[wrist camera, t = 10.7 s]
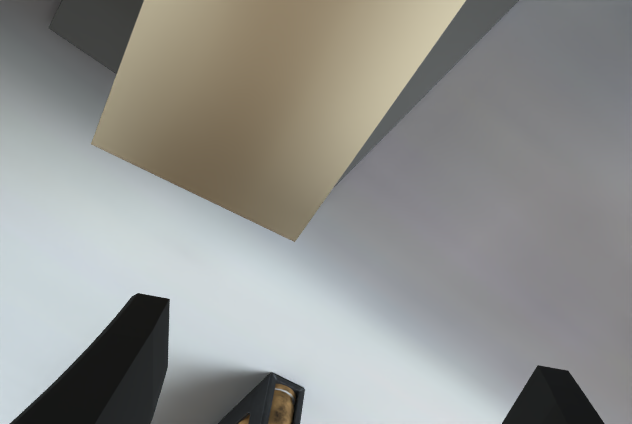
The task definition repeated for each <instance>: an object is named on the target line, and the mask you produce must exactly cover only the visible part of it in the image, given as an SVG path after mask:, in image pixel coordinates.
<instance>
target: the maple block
mask: <svg viewBox="0 0 632 424" xmlns="http://www.w3.org/2000/svg"><path fill="white" fill-rule="evenodd" d="M465 1H466V0H144V2H143V4H142V7H141V10H140V12H139V15H138V18H137V21H136V23H135V26H134V29H133V31H132V34H131V37H130V40H129V42H128V45H127V48H126V50H125V53H124V56H123V59H122V61H121V64H120V67H119V69H118V72H117V75H116V78H115V80H114V83H113V86H112V88H111V91H110V94H109V97H108V99H107V102H106V105H105V107H104V110H103V113H102V116H101V118H100V121H99V124H98V126H97V129H96V132H95V135H94V137H93V140H92V143H91V144H92V145H94V146H96V147H98V148H100V149H102V150H104V151H106V152H108V153H110V154H113V155H115V156H117V157H119V158H121V159H123V160H125V161H127V162H129V163H131V164H133V165H135V166H138V167H140V168H142V169H144V170H146V171H148V172H150V173H152V174H154V175H156V176H158V177H160V178H163V179H165V180H167V181H169V182H171V183H173V184H175V185H177V186H179V187H181V188H183V189H185V190H188V191H190V192H192V193H194V194H196V195H198V196H200V197H202V198H204V199H206V200H208V201H210V202H213V203H215V204H217V205H219V206H221V207H223V208H225V209H227V210H229V211H231V212H233V213H236V214H238V215H240V216H242V217H244V218H246V219H248V220H250V221H252V222H254V223H256V224H258V225H261V226H263V227H265V228H267V229H269V230H271V231H273V232H275V233H277V234H279V235H281V236H283V237H286V238H288V239H290V240H292V241H294V242H295V241H296V240H297V238H298V237H299V235H300V234H301V233H302V231H303V230H304V228H305V227H306V226H307V224H308V223H309V221H310V220H311V218H312V217H313V216H314V214H315V213H316V211H317V210H318V209H319V207H320V206H321V204H322V203H323V202H324V200H325V199H326V197H327V196H328V195H329V193H330V192H331V190H332V189H333V187H334V186H335V185H336V183H337V182H338V180H339V179H340V178H341V176H342V175H343V173H344V172H345V171H346V169H347V168H348V166H349V165H350V163H351V162H352V161H353V159H354V158H355V156H356V155H357V154H358V152H359V151H360V149H361V148H362V147H363V145H364V144H365V142H366V141H367V139H368V138H369V137H370V135H371V134H372V132H373V131H374V130H375V128H376V127H377V125H378V124H379V123H380V121H381V120H382V118H383V117H384V115H385V114H386V113H387V111H388V110H389V108H390V107H391V106H392V104H393V103H394V101H395V100H396V99H397V97H398V96H399V94H400V93H401V91H402V90H403V89H404V87H405V86H406V84H407V83H408V82H409V80H410V79H411V77H412V76H413V75H414V73H415V72H416V70H417V69H418V67H419V66H420V65H421V63H422V62H423V60H424V59H425V58H426V56H427V55H428V53H429V52H430V51H431V49H432V48H433V46H434V45H435V44H436V42H437V41H438V39H439V38H440V36H441V35H442V34H443V32H444V31H445V29H446V28H447V27H448V25H449V24H450V22H451V21H452V20H453V18H454V17H455V15H456V14H457V12H458V11H459V10H460V8H461V7H462V5H463V4H464V3H465Z"/></svg>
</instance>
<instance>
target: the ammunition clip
mask: <svg viewBox="0 0 632 424" xmlns="http://www.w3.org/2000/svg"><path fill="white" fill-rule="evenodd" d="M304 392H305V389H304V388H302V387H300V386H298V385H296V384H293V383H291V382H289V381H287V380H285V379H283V378H281V377H279V376H277V375H275V374H273V373H270V374H269V375H268V376H267V377H266V378H265V379H264V380H263V381H261V382H260V383H259V384H258V385H257V386H256V387H255V388H254V389H253V390H252V391H251V392H250V393H249V394H248V395H247V396H246V397H245V398H244V399H243V400H242V401H241V402H240V403H239V404H238V405H237V406H236V407H234V408H233V409H232V410H231V411H230V412H229V413H228V414H227V415H226V416H225V417H224V418H223V419H222V420H221V421H220V422H219V423H218V424H300V420H301V413H302V406H303V399H304Z"/></svg>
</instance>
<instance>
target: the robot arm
mask: <svg viewBox="0 0 632 424" xmlns="http://www.w3.org/2000/svg"><path fill="white" fill-rule="evenodd" d="M169 302H170V299H167V298H161V297H156V296H150V295H145V294H139V293H137V294H136V295H134V296H132V297H131V298H130V300H129V301H128V302H127V303H126V305H125V306H124V307H123V308H122V310H121V311H120V312H119V313H118V314H117V316H116V317H115V318H114V319H113V320H112V321H111V323H110V324H109V325H108V326H107V327H106V328H105V329H104V331H103V332H102V333H101V334H100V335H99V336H98V337H97V338H96V339H95V340H94V342H93V343H92V344H91V345H90V346H89V347H88V348H87V349H86V350H85V351H84V352H83V353H82V354H81V355H80V356H79V357H78V358H77V360H76V361H75V362H74V363H73V364H72V365H71V366H70V367H69V368H68V369H67V370H66V371H65V372H64V373H63V374H62V375H61V376H60V377H59V378H58V379H57V380H56V381H55V382H54V383H53V384H52V385H51V386H50V387H49V388H48V389H47V390H46V391H45V392H43V393H42V394H41V395H40V396H39V397H38V398H37V399H36V400H35V401H34V402H33V403H32V404H31V405H30V406H28V407H27V408H26V409H25V410H24V411H23V412H22V413H21V414H20V415H19V416H18V417H17V418H16V419H14V420H13V421H12V422H11V423H10V424H150V423H151V420H152V418H153V415H154V412H155V408H156V405H157V402H158V398H159V395H160V392H161V388H162V385H163V381H164V378H165V375H166V371H167V368H168V336H169ZM502 424H604V422H603V421H602V419H601V418H600V416H599V415H598V413H597V412H596V410H595V409H594V408H593V406H592V405H591V403H590V402H589V400H588V399H587V397H586V396H585V394H584V393H583V391H582V390H581V388H580V387H579V385H578V384H577V383H576V381H575V380H574V378H573V377H572V375H571V374H570V373H569V371H566V370H561V369H555V368H550V367H544V366H539V365H538V366H537V367H536V369H535V371H534V372H533V374H532V375H531V377H530V379H529V380H528V382H527V384H526V385H525V387H524V388H523V390H522V392H521V393H520V395H519V397H518V398H517V400H516V401H515V403H514V405H513V406H512V408H511V410H510V411H509V413H508V414H507V416H506V418H505V419H504V421H503V423H502Z"/></svg>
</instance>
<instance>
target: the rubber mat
mask: <svg viewBox="0 0 632 424" xmlns="http://www.w3.org/2000/svg"><path fill="white" fill-rule="evenodd" d="M518 1H519V0H466V1H465V3H464V4H463V5H462V7H461V8H460V10H459V11H458V12H457V14H456V15H455V17H454V18H453V20H452V21H451V22H450V24H449V25H448V27H447V28H446V29H445V31H444V32H443V34H442V35H441V36H440V38H439V39H438V41H437V42H436V44H435V45H434V46H433V48H432V49H431V51H430V52H429V53H428V55H427V56H426V58H425V59H424V60H423V62H422V63H421V65H420V66H419V67H418V69H417V70H416V72H415V73H414V75H413V76H412V77H411V79H410V80H409V82H408V83H407V84H406V86H405V87H404V89H403V90H402V91H401V93H400V94H399V96H398V97H397V99H396V100H395V101H394V103H393V104H392V106H391V107H390V108H389V110H388V111H387V113H386V114H385V115H384V117H383V118H382V120H381V121H380V123H379V124H378V125H377V127H376V128H375V130H374V131H373V132H372V134H371V135H370V137H369V138H368V139H367V141H366V142H365V144H364V145H363V147H362V148H361V149H360V151H359V152H358V154H357V155H356V156H355V158H354V159H353V161H352V162H351V163H350V165H349V166H348V168H347V169H346V171H345V172H344V173H343V175H342V176H341V178H340V179H339V180H338V182H337V183H336V185H337V184H338V183H339V182H340V181H341V180H342V179H343V178H344V177H345V176H346V175H347V174H348V173H349V172H350V171H351V170H352V169H353V168H354V167H355V166H356V165H357V164H358V163H359V162H360V161H361V160H362V159H363V158H364V157H365V155H366V154H367V153H368V152H369V151H370V150H371V149H372V148H373V147H374V146H375V145H376V144H377V143H378V142H379V141H380V140H381V139H382V138H383V137H384V136H385V135H386V134H387V133H388V132H389V131H390V130H391V129H392V128H393V127H394V126H395V125H396V124H397V123H398V122H399V121H400V120H401V119H402V118H403V117H404V116H405V115H406V114H407V113H408V112H409V111H410V110H411V109H412V108H413V107H414V106H415V105H416V104H417V103H418V102H419V101H420V100H421V99H422V98H423V97H424V96H425V95H426V94H427V93H428V92H429V91H430V90H431V89H432V88H433V87H434V86H435V85H436V84H437V83H438V82H439V81H440V80H441V79H442V78H443V77H444V76H445V75H446V74H447V73H448V72H449V71H450V70H451V69H452V68H453V67H454V66H455V65H456V64H457V63H458V62H459V60H460V59H461V58H462V57H463V56H464V55H465V54H466V53H467V52H468V51H469V50H470V49H471V48H472V47H473V46H474V45H475V44H476V43H477V42H478V41H479V40H480V39H481V38H482V37H483V36H484V35H485V34H486V33H487V32H488V31H489V30H490V29H491V28H492V27H493V26H494V25H495V24H496V23H497V22H498V21H499V20H500V19H501V18H502V17H503V16H504V15H505V14H506V13H507V12H508V11H509V10H510V9H511V8H512V7H513V6H514V5H515V4H516V3H517V2H518ZM143 2H144V0H62V2H61V4H60V6H59V8H58V10H57V12H56V14H55V16H54V18H53V20H52V22H51V24H50V26H49V29H51V30H52V31H54V32H55V33H57V34H58V35H60V36H61V37H62V38H64V39H65V40H67V41H68V42H70V43H71V44H73V45H74V46H76V47H77V48H79V49H80V50H82V51H83V52H85V53H86V54H88V55H89V56H91V57H92V58H94V59H95V60H97V61H98V62H100V63H101V64H103V65H104V66H105V67H107V68H108V69H110V70H111V71H113V72H114V73H116V74H117V72H118V69H119V67H120V64H121V61H122V59H123V56H124V53H125V50H126V48H127V45H128V42H129V40H130V37H131V34H132V31H133V29H134V26H135V23H136V21H137V18H138V15H139V12H140V10H141V7H142V4H143ZM336 185H335V186H336ZM335 186H334V187H335ZM334 187H333V188H334Z"/></svg>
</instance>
